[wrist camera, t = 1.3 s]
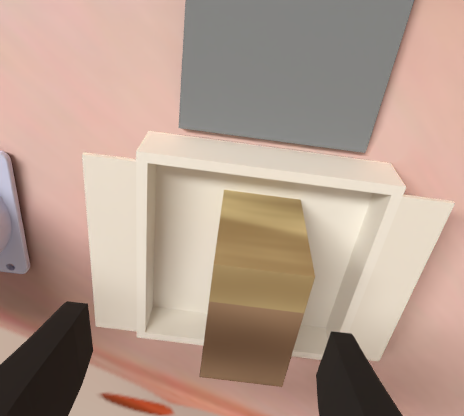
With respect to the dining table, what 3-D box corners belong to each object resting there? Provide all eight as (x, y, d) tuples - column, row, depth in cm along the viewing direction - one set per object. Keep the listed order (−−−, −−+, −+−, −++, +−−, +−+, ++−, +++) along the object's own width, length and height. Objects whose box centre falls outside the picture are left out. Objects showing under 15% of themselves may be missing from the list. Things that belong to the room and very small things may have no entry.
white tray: (109, 302, 26) (96, 332, 24) (99, 124, 20) (81, 144, 18) (366, 333, 26) (376, 366, 24) (437, 169, 20) (459, 194, 18)
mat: (180, 125, 20) (178, 127, 19) (193, -109, 15) (191, -110, 15) (363, 149, 20) (365, 152, 19) (433, -74, 15) (438, -74, 15)
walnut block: (276, 298, 25) (282, 386, 20) (211, 289, 25) (199, 376, 19) (300, 199, 21) (315, 277, 16) (224, 189, 21) (213, 264, 16)
